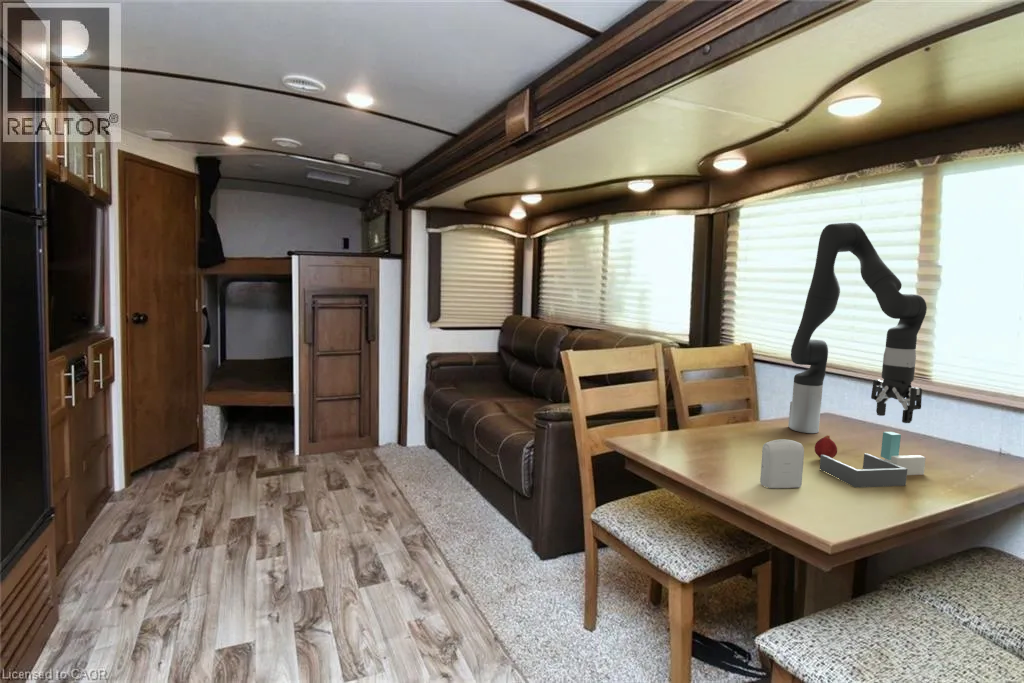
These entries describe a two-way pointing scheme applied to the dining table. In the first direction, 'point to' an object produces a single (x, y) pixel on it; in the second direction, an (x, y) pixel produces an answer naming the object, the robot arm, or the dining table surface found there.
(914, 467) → the teal-handled white slab
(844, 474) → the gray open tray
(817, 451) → the onion
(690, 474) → the dining table surface
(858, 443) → the dining table surface
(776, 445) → the photo printer
